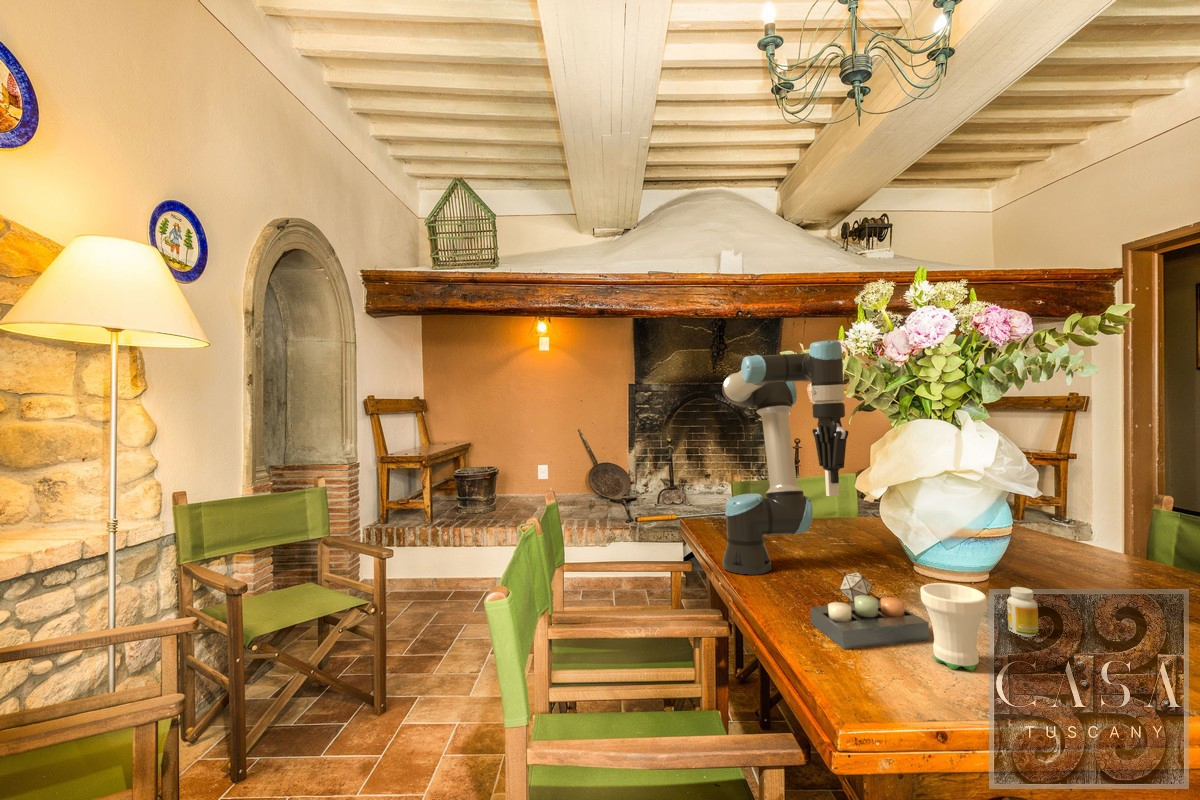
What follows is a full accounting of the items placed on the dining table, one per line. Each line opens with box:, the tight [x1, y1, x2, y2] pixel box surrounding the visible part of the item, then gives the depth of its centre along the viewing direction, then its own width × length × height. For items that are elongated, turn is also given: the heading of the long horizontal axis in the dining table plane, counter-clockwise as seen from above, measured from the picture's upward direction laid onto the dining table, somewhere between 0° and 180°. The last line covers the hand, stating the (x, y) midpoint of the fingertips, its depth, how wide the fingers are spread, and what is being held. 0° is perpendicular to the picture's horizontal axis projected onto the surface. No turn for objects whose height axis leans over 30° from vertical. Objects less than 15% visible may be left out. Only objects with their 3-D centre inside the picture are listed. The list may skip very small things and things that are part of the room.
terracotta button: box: [880, 596, 906, 617], centre depth 126 cm, size 5×5×3 cm
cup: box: [920, 582, 988, 672], centre depth 109 cm, size 11×11×14 cm
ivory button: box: [827, 601, 852, 623], centre depth 124 cm, size 5×5×3 cm
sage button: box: [854, 595, 879, 617], centre depth 125 cm, size 5×5×3 cm
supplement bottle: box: [1006, 586, 1040, 638], centre depth 121 cm, size 5×5×10 cm
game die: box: [836, 569, 876, 603], centre depth 143 cm, size 9×8×10 cm
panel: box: [809, 599, 930, 650], centre depth 125 cm, size 14×20×4 cm
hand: (832, 495), depth 137 cm, fingers closed
